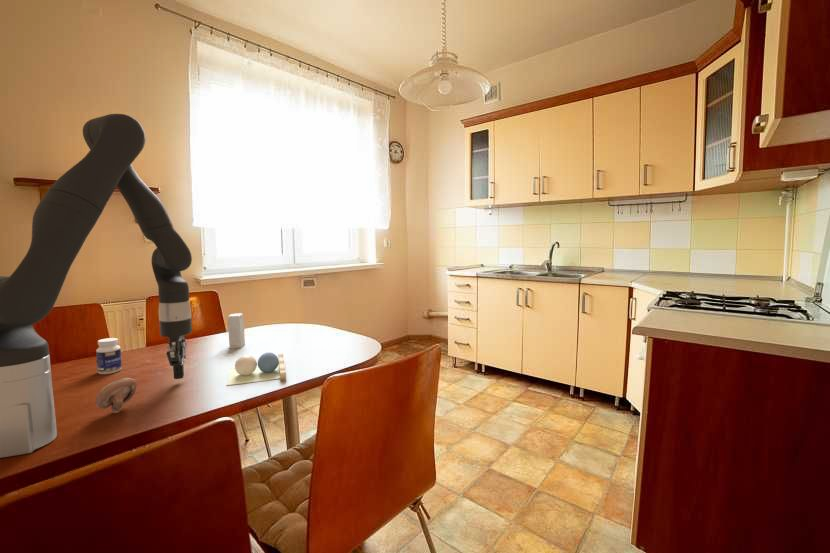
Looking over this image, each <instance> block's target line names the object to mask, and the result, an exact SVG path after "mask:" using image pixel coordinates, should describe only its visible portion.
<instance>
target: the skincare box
mask: <svg viewBox="0 0 830 553" xmlns="http://www.w3.org/2000/svg"><path fill="white" fill-rule="evenodd" d="M227 327H228V328H227V329H228V343H229V349H240V348H242V347H243V346H244V345H245V343H246V338H245V322H244V312H243V313H242V312H240V313H239V312H238V313H235V312H234V313H231V314H228V316H227Z"/></svg>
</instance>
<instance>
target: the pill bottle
mask: <svg viewBox="0 0 830 553" xmlns="http://www.w3.org/2000/svg"><path fill="white" fill-rule="evenodd" d="M118 343H119V339H118V338H117V337H116V338H115V337H107V338H102V339H99V340H97V345H98V348H97V349H95V350H96V369H97V370H96V371H97V373H98V374H99V375H110V374H114V373H118V372H119V371H121V370H122V367H123V365H122V351H121V350H122V349H121V346H120V345H118Z"/></svg>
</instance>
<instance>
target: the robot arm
mask: <svg viewBox="0 0 830 553" xmlns="http://www.w3.org/2000/svg"><path fill="white" fill-rule="evenodd" d="M82 135H83V136H82V137H83V139H84V141H85V143H86V145H87V147H88V148H89V151H88V152H87V153H86V154H85V156H84V157H83V158H82V159H81V160H79V161H78V162H77V163H76V164H75V165H73V166H71V167H70V168H69V169H68V170H67V171H66V172H64V173H63V174H62V175H61V176H59V177H58V179H56V180H55V182H54V183H52V185H51V186H50V188H49V189H47V191H46V192H45V194H44V196H43V197H42V198H41V200H40V201H39V203H38V205H37V206H36V208H35V211H34V213H33V216H32V222H31V223H32V224H31V242H30V246H29V248H28V250H27V252H26V254H25V255H24V257H23V258H22V260H21V262H20V263H19V264H18V265H17V267H16V269H15V270H14V271H13V272H12V273H11V274H10V275H9V276H3V275H2V276H1V275H0V459H1V458H7V457H13V456H20V455H25V454H31V453H33V452H34V451H35V450H38V449H40V448H42V447H44V446H46V445H48V444H50V443H51V442H53V441H54V440H55V439H56V438H57V436H58V431H57V422H56V421H57V419H56V410H55V400H54V392H53V380H52V379H53V378H52V370H51V368H52V367H51V357H50V347H49V342H48V341H47V340H46V339H45V338H43V337H42V336H40V335H39V333H38V332H36V330H35V328H34V326H33V325H35V324H37V323H38V322H40V321H42V320H43V319H44V318H46V317H47V316H48V315H49V313H50V312H51V311H52V309H53V308H54V306H55V304H56V302H57V300H58V297H59V295H60V292H61V290H62V288H63V285H64V283H65V281H66V278H67V275H68V274H69V271H70V269H71V266H72V265H73V263H74V261H75V259H76V257H77V256H78V254H79V252H80V251H81V249H82V247H83V245H84V243H85V242H86V239H87V237H88V236H89V235H90V233H91V232H92V230H93V228H94V227H95V225H96V223H97V222H98V220H99V218H100V217H101V215H102V213H103V212H104V209H105V207H106V206H107V204H108V202H109V200H110V199H111V197H112V194H113V193H114V192H115V189H116V188H117V189H118V191H119V193H120V194H121V195H122V198H123V199H124V200H125V202H126V203H127V206H128V207H129V209H130V211H131V212H132V215H133V216H134V218H135V221H136V222H137V225H138V227H139V229H140V231H141V233H142V235H143V237H145V238H146V240H148V241H151V242H152V243H153V244H154V245H155V247H156V248H155V249H154V250H153V252H152V254H151V267H152V271H153V275H154V278H155V282H156V283H157V287H158V290H157V291H158V321H159V322H158V323H159V335H160V336H161V337H162V338H168V342H167V344H166V348H167V350H168V351H166V356H167V360H168V363H169V366H170V367H172V369H173V379H174V380H180V379H183V378H184V376H185V370H184V366H185V365H184V364H185V360H186V359H187V358H186V357H187V356H186V355H187V344H188V340H187V338H185V336H187V335H189V334H191V333H192V332H193V322H192V306H191V304H190V303H191V302H190V291H189V289H190V288H189V284H188V282H187V281H186V280H185V279H183V277H182V274H181V272H184V271H186V270H187V269H189V268H190V267H191V264H192V263H193V262H192V261H193V257H192V253H191V250H190V248H189V246H188V245H187V243H186V242H185V241H184V239H183V237H182V236H181V235H180V233H178V231H177V230H176V229H175V227H174V224H173V222H172V220H171V218H170V216H169V214H168V212H167V209H166V208H165V206H164V204H163V203H162V201H161V200H160V198H159V197H158V196H157V194H155V193H154V192H153V191H152V190H151V188H150V187H149V186H148V185H147V184H146V183H145V182H144V181H143V180H142V178H140V175H138V173H137V172H136V170H135V169H134V166H133V164H132V163H133V162H134V161H135V160H136V159H137V158H138V156H139V154H141V153H142V151H143V149H144V147H145V144H146V133H145V129H144V128H143V125H142V124H141V123H140V122H139V120H137V119H136V118H134V117H133V116H130V115H128V114H124V113H108V114H106V115H103V116H99V117H95V118H92V119H89V120H88V121H86V122H85V123H84V125H83V127H82Z"/></svg>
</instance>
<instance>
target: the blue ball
mask: <svg viewBox="0 0 830 553" xmlns="http://www.w3.org/2000/svg"><path fill="white" fill-rule="evenodd" d="M278 364H279V360H278V355H276V354H275V353H273V352H265V353H263V354H261V355H260V356H259V357H258V359H257V365H258V367H259V369H260V370H261V371H262V372H265V373H269V372H272V371H274V370H275V369H276V368H277V366H278Z"/></svg>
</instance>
